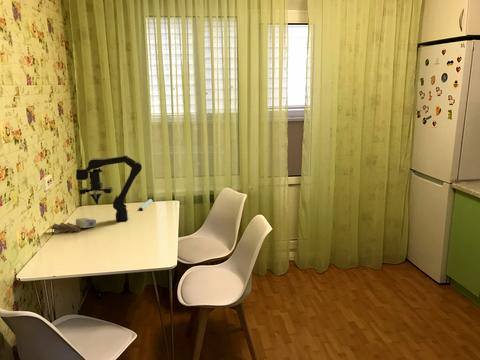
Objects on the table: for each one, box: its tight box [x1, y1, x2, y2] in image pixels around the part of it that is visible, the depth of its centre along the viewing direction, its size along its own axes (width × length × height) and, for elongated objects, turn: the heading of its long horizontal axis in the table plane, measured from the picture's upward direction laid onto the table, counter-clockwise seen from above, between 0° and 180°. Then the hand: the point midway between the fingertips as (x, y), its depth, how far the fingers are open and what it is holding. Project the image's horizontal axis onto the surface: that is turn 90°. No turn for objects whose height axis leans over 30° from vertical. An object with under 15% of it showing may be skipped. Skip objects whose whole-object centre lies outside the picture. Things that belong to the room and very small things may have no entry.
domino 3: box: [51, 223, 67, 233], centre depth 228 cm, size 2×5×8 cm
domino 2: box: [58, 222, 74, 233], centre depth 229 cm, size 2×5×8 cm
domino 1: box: [65, 222, 82, 233], centre depth 229 cm, size 2×5×8 cm
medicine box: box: [75, 217, 97, 229], centre depth 235 cm, size 8×4×9 cm
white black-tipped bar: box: [138, 198, 154, 211], centre depth 279 cm, size 23×7×3 cm, turn 176°
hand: (97, 204), depth 242 cm, fingers closed
